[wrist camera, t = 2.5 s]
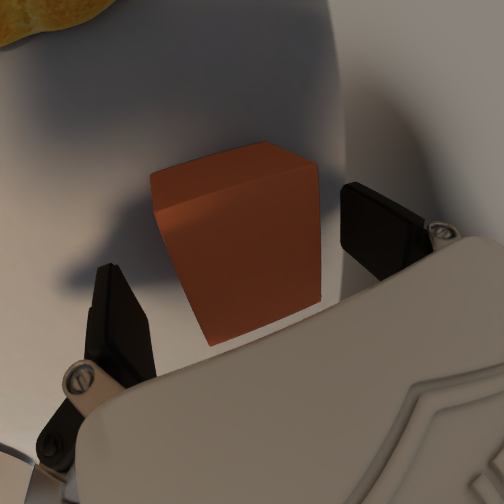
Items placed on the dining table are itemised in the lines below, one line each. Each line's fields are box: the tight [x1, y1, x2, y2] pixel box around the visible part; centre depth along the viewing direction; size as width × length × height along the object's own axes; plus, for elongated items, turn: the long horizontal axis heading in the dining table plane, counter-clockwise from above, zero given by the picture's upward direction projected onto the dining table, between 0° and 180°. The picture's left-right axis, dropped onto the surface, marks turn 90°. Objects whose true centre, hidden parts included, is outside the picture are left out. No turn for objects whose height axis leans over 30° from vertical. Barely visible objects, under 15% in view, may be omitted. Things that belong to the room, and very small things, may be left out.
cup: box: [0, 452, 33, 504], centre depth 11 cm, size 8×8×14 cm
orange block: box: [150, 142, 321, 346], centre depth 11 cm, size 5×6×4 cm
